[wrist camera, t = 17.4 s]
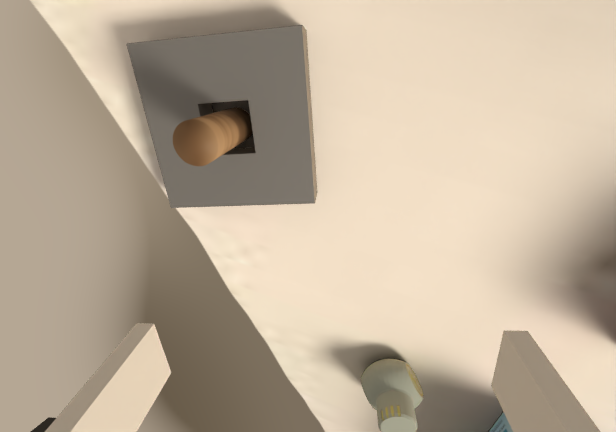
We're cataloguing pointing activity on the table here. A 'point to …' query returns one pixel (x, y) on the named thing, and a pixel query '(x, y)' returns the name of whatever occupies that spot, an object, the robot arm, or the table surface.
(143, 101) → the socket
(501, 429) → the gum box
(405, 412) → the air freshener
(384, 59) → the table surface
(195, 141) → the peg
